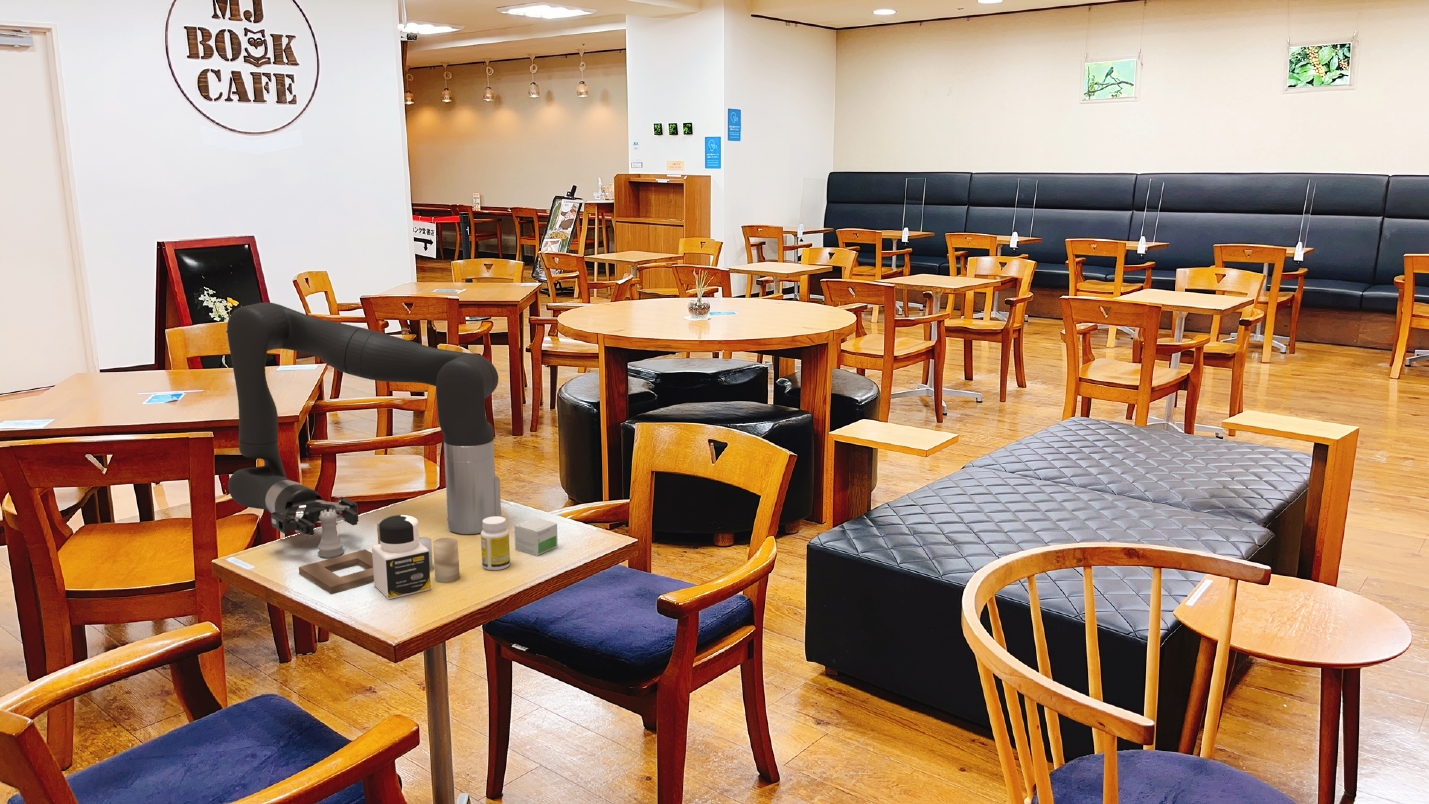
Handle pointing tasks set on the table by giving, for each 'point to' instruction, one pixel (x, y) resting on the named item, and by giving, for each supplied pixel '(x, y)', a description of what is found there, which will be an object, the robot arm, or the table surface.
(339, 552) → the rook chess piece
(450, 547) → the medium beech peg
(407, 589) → the medicine bottle
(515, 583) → the table surface
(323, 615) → the table surface
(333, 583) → the hole board
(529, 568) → the table surface
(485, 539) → the supplement bottle
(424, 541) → the short grey peg
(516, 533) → the small box
